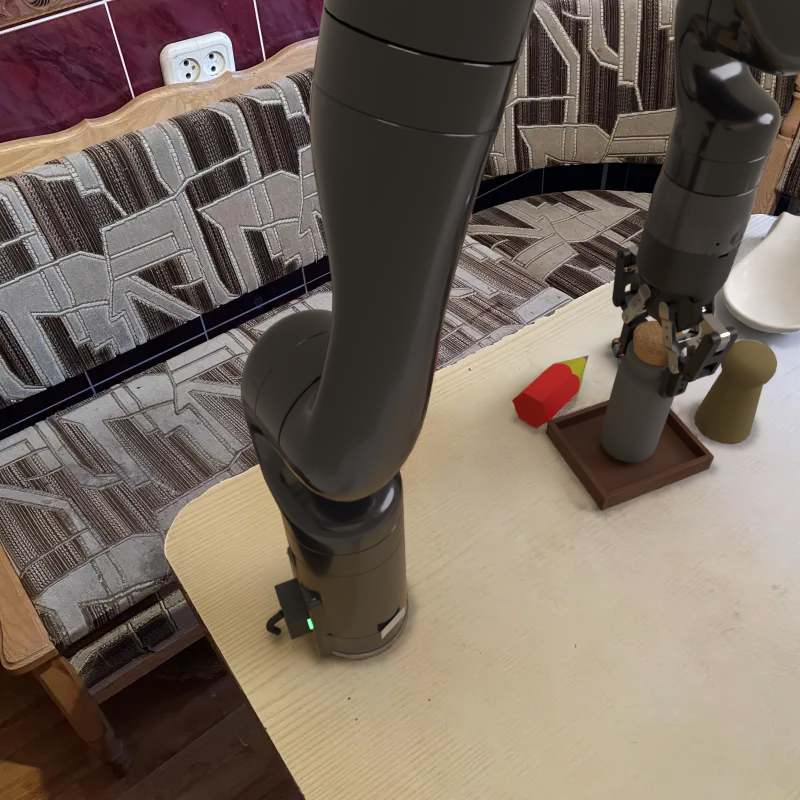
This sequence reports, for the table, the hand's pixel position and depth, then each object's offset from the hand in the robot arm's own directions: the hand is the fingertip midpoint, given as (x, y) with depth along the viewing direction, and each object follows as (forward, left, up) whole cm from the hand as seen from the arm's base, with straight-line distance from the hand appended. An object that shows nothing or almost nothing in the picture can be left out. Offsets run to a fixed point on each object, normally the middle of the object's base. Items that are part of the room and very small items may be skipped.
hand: (649, 371), depth 72 cm
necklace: (+12, +12, -12) cm, 21 cm away
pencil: (-2, +10, -12) cm, 16 cm away
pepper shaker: (+12, -1, -12) cm, 17 cm away
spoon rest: (+33, +15, -12) cm, 38 cm away
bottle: (0, 0, -11) cm, 11 cm away
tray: (0, 0, -12) cm, 12 cm away
